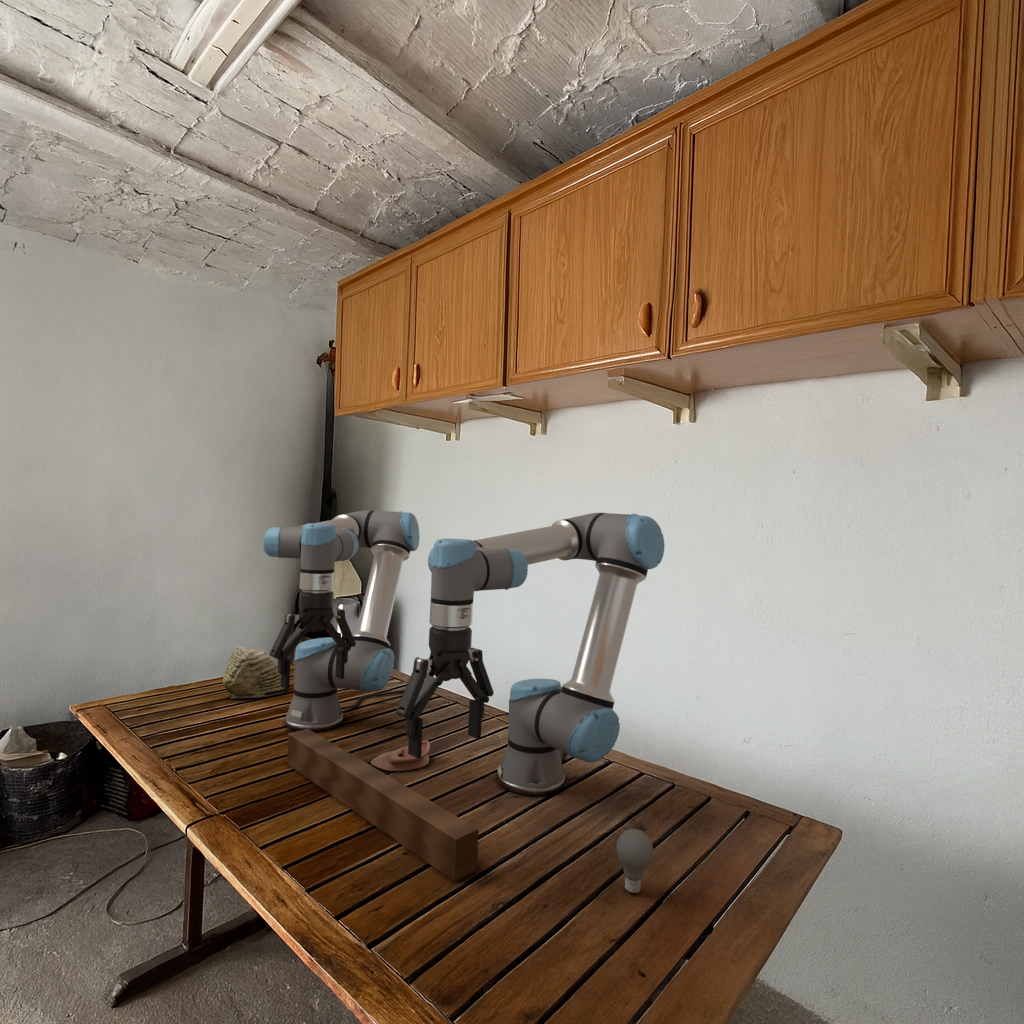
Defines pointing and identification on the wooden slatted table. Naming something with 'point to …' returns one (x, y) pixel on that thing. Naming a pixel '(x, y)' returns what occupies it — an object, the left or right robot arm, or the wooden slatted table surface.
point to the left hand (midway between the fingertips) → (313, 682)
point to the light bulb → (634, 857)
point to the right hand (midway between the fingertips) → (445, 745)
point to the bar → (387, 804)
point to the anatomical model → (402, 759)
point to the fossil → (251, 674)
